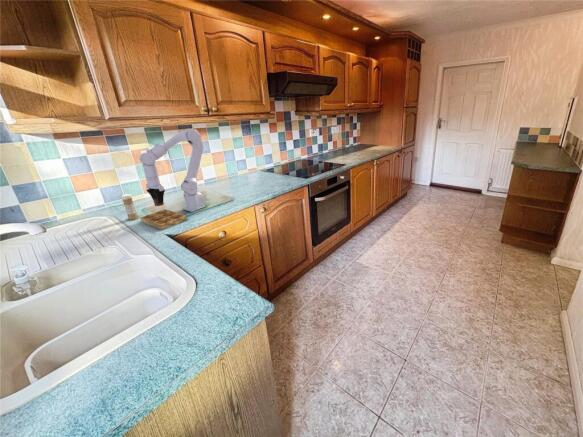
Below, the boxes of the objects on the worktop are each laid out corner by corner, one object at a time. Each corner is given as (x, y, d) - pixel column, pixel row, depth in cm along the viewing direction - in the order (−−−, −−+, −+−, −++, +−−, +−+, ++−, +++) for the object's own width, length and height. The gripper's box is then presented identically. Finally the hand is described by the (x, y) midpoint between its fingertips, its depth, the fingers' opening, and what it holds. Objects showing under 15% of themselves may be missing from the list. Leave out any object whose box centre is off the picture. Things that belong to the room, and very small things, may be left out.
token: (161, 202, 140) (159, 196, 139) (165, 204, 138) (164, 197, 136) (153, 205, 137) (151, 198, 136) (157, 206, 134) (155, 200, 133)
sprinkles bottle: (131, 217, 142) (123, 193, 137) (139, 216, 142) (132, 193, 137) (127, 220, 138) (119, 196, 132) (135, 219, 138) (128, 195, 133)
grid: (166, 213, 145) (165, 208, 144) (187, 220, 134) (186, 215, 133) (141, 221, 135) (140, 217, 134) (161, 230, 124) (160, 225, 123)
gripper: (137, 177, 133) (144, 202, 138) (151, 180, 124) (158, 206, 130) (151, 174, 138) (157, 198, 143) (165, 177, 130) (171, 202, 135)
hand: (158, 202), depth 137 cm, fingers closed on token, 4 cm apart
